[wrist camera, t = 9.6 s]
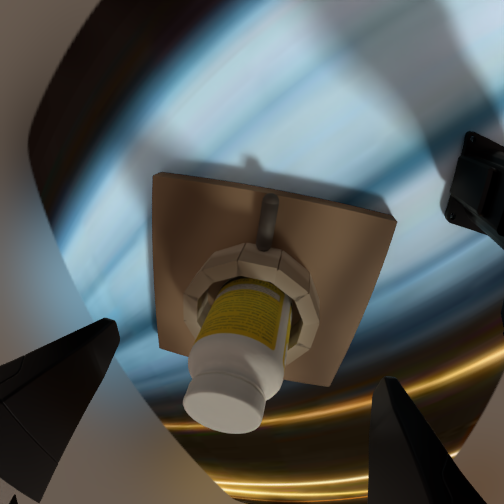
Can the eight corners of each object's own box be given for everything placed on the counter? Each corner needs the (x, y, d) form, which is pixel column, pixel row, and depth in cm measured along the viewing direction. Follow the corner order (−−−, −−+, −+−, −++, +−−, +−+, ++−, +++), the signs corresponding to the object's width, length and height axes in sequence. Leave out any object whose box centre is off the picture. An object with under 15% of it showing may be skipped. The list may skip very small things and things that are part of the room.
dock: (393, 212, 18) (409, 234, 15) (329, 377, 25) (328, 408, 22) (160, 169, 20) (133, 181, 16) (164, 339, 27) (148, 366, 24)
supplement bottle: (206, 282, 22) (148, 385, 13) (274, 258, 20) (244, 372, 11) (240, 336, 23) (206, 441, 15) (304, 319, 21) (294, 436, 13)
